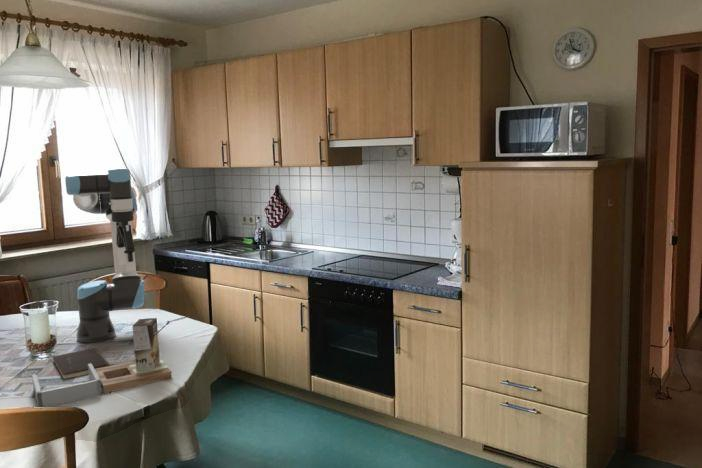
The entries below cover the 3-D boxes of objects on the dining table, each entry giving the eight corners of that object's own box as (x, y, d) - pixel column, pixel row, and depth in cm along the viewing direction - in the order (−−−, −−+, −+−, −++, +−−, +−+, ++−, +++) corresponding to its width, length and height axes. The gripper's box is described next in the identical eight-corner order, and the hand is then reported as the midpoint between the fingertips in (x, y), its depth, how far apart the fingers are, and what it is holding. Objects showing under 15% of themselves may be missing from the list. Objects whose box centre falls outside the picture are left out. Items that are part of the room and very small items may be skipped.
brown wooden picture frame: (94, 375, 216) (94, 368, 215) (158, 362, 227) (157, 355, 227) (103, 393, 201) (103, 385, 200) (171, 378, 212) (171, 370, 211)
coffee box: (154, 370, 212) (151, 325, 210) (135, 371, 212) (131, 326, 209) (160, 360, 221) (157, 317, 219) (142, 361, 221) (138, 318, 218)
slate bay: (33, 389, 205) (32, 374, 205) (92, 377, 215) (91, 363, 214) (38, 408, 190) (36, 393, 189) (102, 394, 199) (100, 380, 198)
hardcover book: (63, 380, 214) (62, 374, 213) (52, 362, 233) (52, 356, 232) (111, 370, 222) (110, 364, 222) (97, 353, 241) (97, 347, 241)
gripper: (105, 208, 234) (110, 263, 238) (118, 214, 213) (123, 274, 216) (125, 207, 238) (130, 260, 241) (140, 212, 217) (145, 271, 220)
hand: (126, 267), depth 229 cm, fingers open, 13 cm apart
